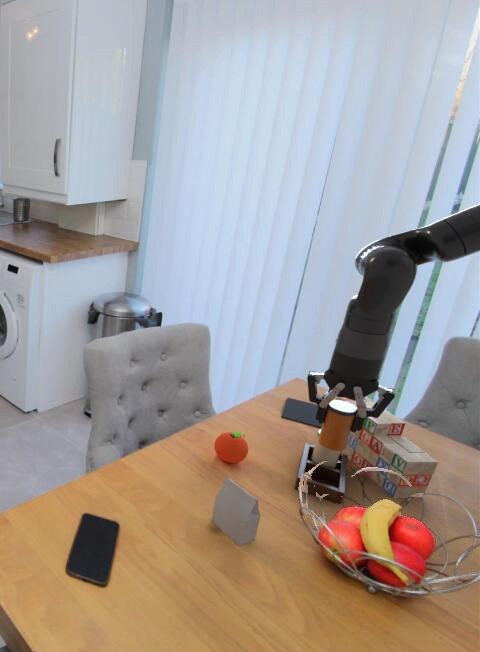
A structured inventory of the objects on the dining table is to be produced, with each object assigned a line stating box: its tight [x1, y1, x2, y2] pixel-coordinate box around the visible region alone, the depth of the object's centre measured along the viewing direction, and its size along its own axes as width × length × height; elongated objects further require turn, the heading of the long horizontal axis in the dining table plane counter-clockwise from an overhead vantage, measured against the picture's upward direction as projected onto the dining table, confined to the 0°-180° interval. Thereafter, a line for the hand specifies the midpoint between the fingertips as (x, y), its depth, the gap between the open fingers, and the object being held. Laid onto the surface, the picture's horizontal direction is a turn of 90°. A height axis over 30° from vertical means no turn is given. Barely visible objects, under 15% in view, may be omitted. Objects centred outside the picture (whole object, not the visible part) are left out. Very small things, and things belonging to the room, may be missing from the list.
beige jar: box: [310, 428, 342, 469], centre depth 106 cm, size 5×5×9 cm
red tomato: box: [213, 431, 249, 464], centre depth 111 cm, size 8×7×7 cm
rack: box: [293, 442, 349, 505], centre depth 104 cm, size 8×15×3 cm, turn 142°
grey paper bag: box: [210, 477, 261, 547], centre depth 90 cm, size 4×7×10 cm, turn 19°
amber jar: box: [318, 399, 358, 451], centre depth 97 cm, size 5×5×9 cm
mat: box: [281, 397, 322, 429], centre depth 127 cm, size 14×12×1 cm
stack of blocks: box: [335, 396, 439, 499], centre depth 106 cm, size 21×6×12 cm, turn 178°
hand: (337, 425), depth 97 cm, fingers closed on amber jar, 4 cm apart
